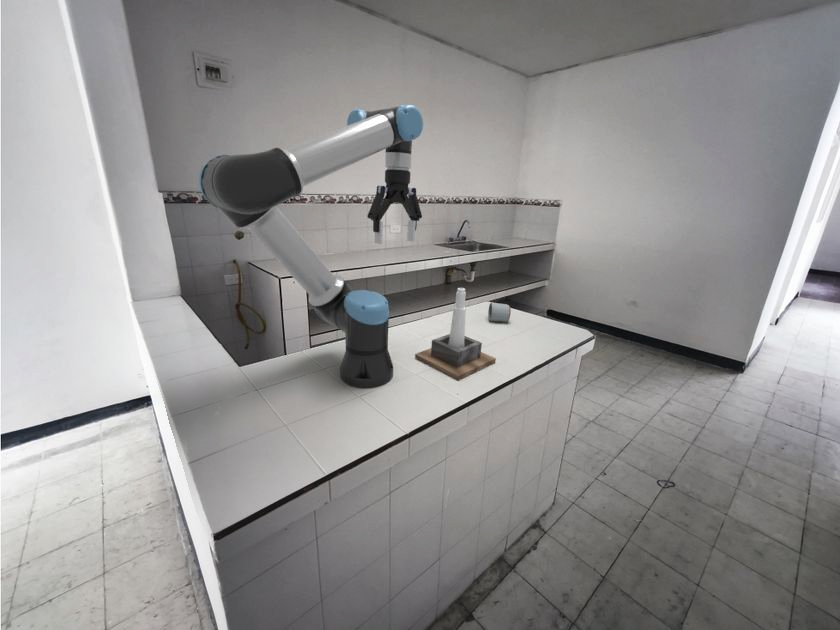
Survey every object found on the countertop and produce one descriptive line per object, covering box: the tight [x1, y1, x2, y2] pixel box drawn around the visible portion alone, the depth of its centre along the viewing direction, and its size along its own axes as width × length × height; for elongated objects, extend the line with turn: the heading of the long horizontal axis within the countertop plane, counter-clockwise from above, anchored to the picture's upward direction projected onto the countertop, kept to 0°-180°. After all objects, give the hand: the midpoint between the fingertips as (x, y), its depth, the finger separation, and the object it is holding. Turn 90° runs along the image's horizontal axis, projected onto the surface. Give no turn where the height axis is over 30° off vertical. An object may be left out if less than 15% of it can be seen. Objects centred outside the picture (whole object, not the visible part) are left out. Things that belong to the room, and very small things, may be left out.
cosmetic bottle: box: [448, 287, 467, 349], centre depth 112 cm, size 6×6×22 cm
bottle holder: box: [414, 333, 497, 381], centre depth 115 cm, size 18×18×6 cm
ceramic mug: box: [487, 302, 512, 323], centre depth 154 cm, size 11×8×8 cm
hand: (395, 242), depth 115 cm, fingers open, 13 cm apart
